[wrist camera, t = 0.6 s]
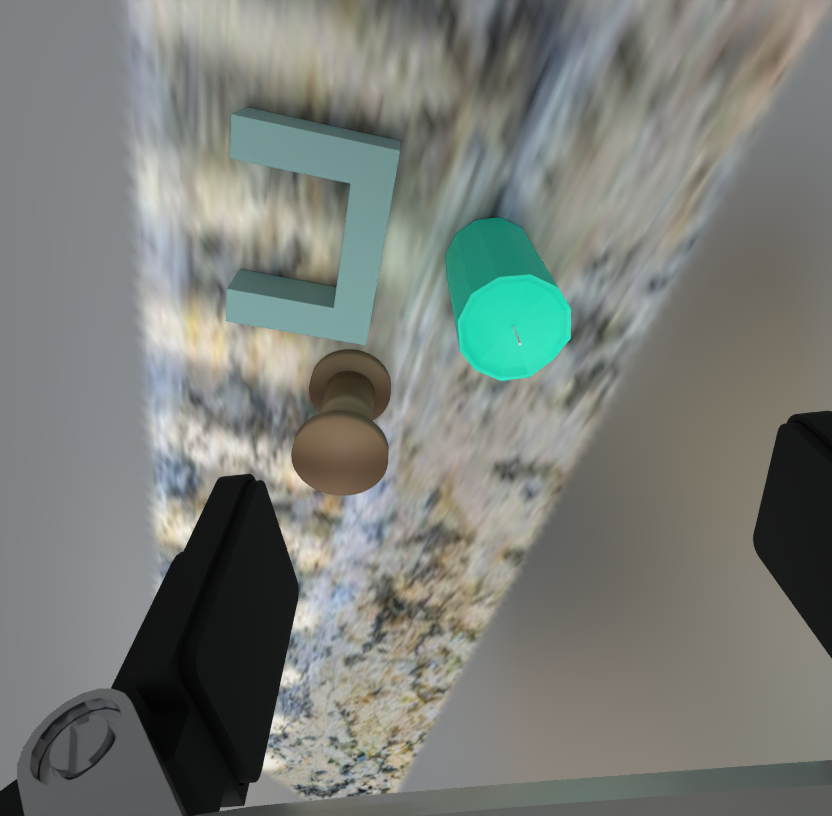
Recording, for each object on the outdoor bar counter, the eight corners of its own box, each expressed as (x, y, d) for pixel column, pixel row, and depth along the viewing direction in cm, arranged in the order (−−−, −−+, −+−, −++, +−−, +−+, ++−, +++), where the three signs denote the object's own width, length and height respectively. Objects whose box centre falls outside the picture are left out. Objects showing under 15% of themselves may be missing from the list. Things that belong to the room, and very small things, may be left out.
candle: (460, 316, 40) (479, 409, 30) (431, 236, 37) (442, 311, 27) (543, 286, 39) (592, 374, 29) (521, 202, 36) (566, 267, 26)
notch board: (246, 107, 33) (231, 114, 30) (400, 141, 34) (400, 151, 31) (239, 299, 39) (226, 321, 36) (368, 322, 40) (366, 345, 37)
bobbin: (302, 355, 42) (280, 426, 34) (383, 344, 41) (379, 413, 34) (321, 422, 45) (304, 500, 37) (396, 412, 45) (395, 489, 37)
